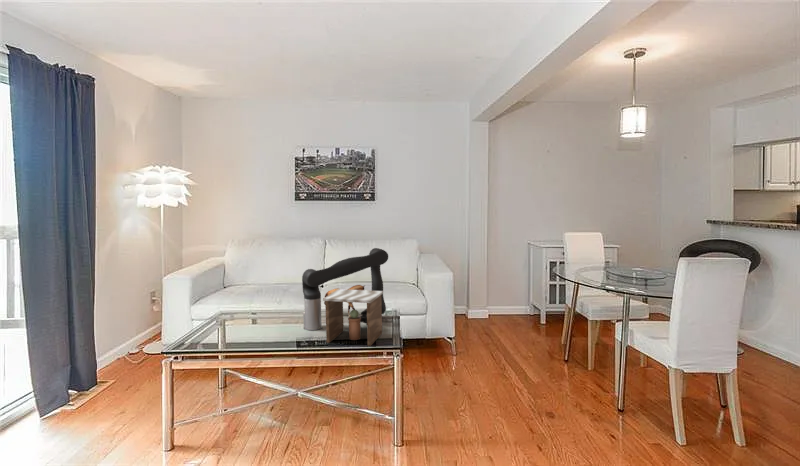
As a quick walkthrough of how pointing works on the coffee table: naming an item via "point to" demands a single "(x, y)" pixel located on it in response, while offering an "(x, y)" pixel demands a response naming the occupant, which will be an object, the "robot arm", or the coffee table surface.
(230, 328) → the coffee table surface
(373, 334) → the side table
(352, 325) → the pot
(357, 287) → the horse figurine
